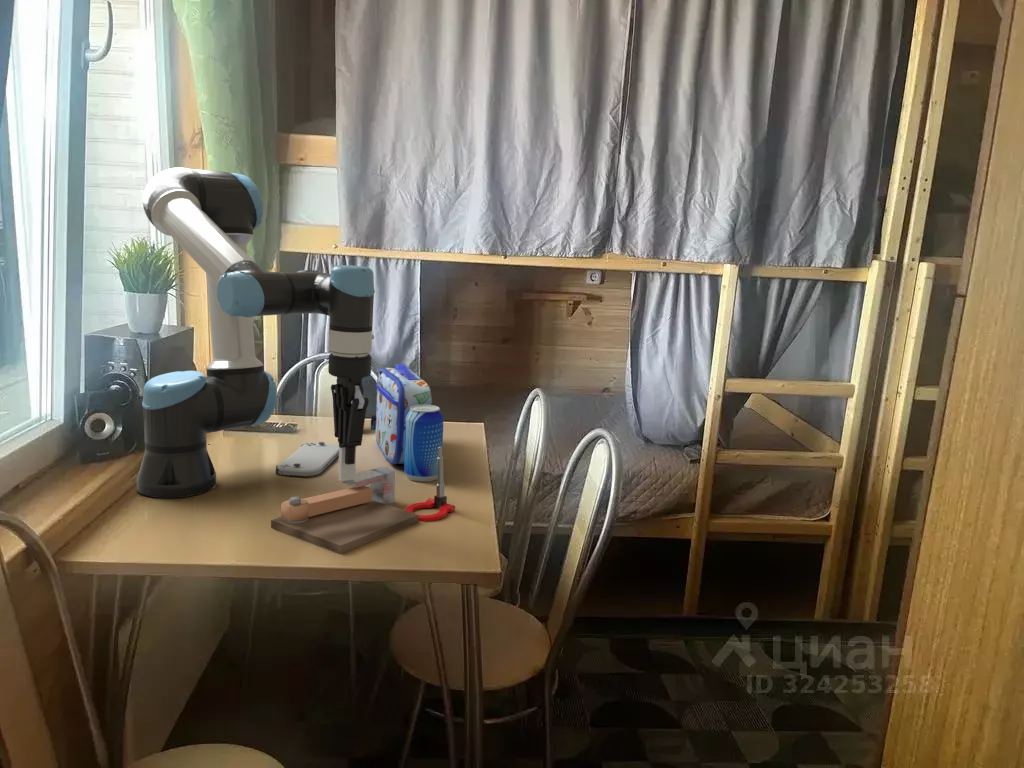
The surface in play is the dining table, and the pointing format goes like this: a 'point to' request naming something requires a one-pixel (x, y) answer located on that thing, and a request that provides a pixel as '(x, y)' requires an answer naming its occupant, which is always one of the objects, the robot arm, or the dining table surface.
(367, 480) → the keeper
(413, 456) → the beer can
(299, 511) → the link
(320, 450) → the handheld gaming console
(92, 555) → the dining table surface
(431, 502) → the tow hook
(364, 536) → the pintle plate
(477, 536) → the dining table surface
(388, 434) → the lunch box
